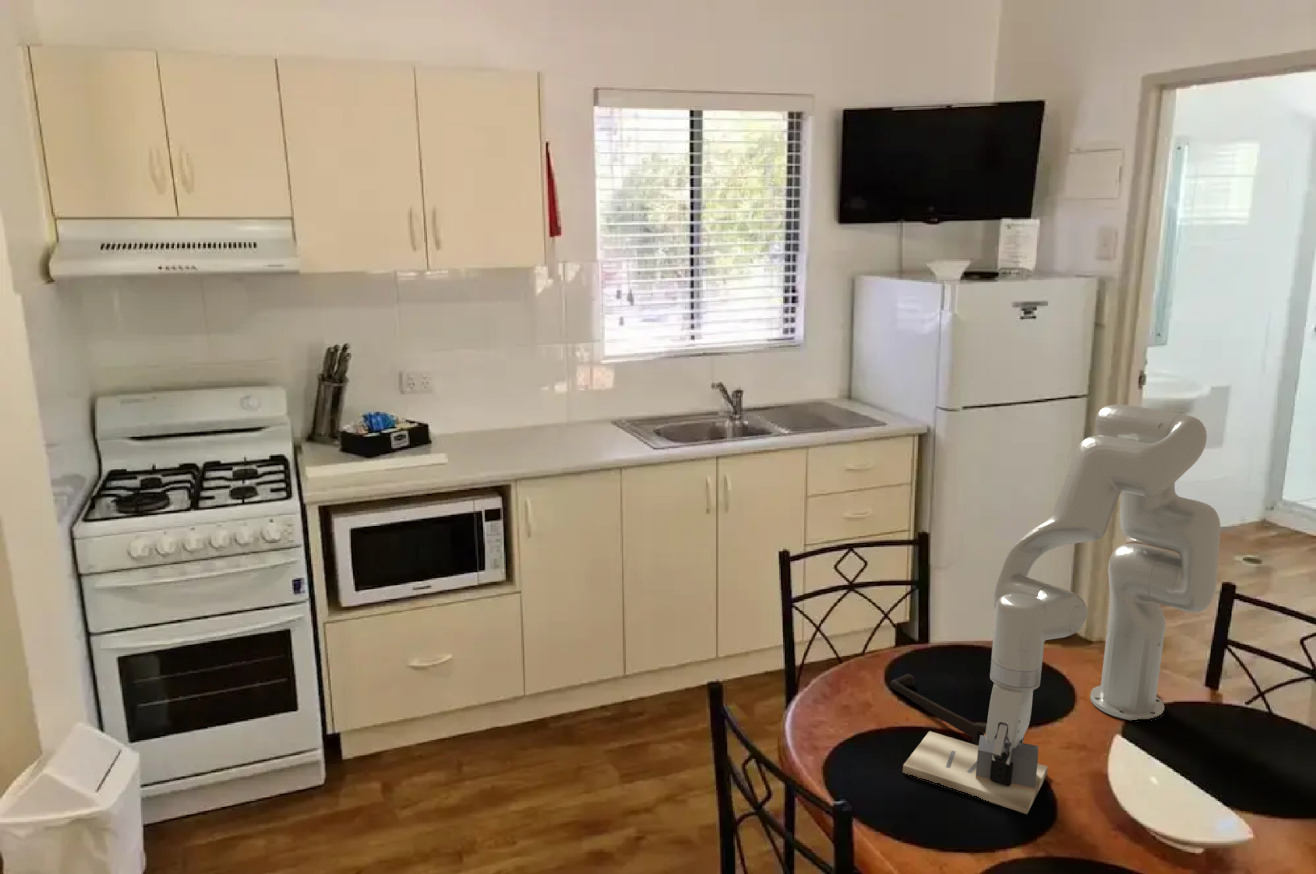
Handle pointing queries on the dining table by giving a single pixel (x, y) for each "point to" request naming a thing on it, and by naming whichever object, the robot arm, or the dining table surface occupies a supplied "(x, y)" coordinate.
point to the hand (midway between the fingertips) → (1005, 772)
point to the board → (966, 772)
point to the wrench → (939, 709)
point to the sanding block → (1021, 759)
